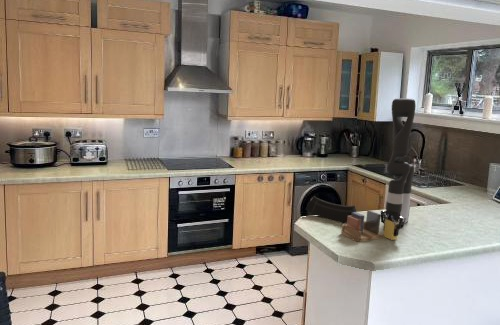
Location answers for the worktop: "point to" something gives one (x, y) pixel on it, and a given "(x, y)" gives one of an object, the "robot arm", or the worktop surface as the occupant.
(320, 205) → the magazine
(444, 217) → the worktop surface
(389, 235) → the book
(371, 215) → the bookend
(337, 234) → the worktop surface
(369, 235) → the shelf
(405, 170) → the robot arm
